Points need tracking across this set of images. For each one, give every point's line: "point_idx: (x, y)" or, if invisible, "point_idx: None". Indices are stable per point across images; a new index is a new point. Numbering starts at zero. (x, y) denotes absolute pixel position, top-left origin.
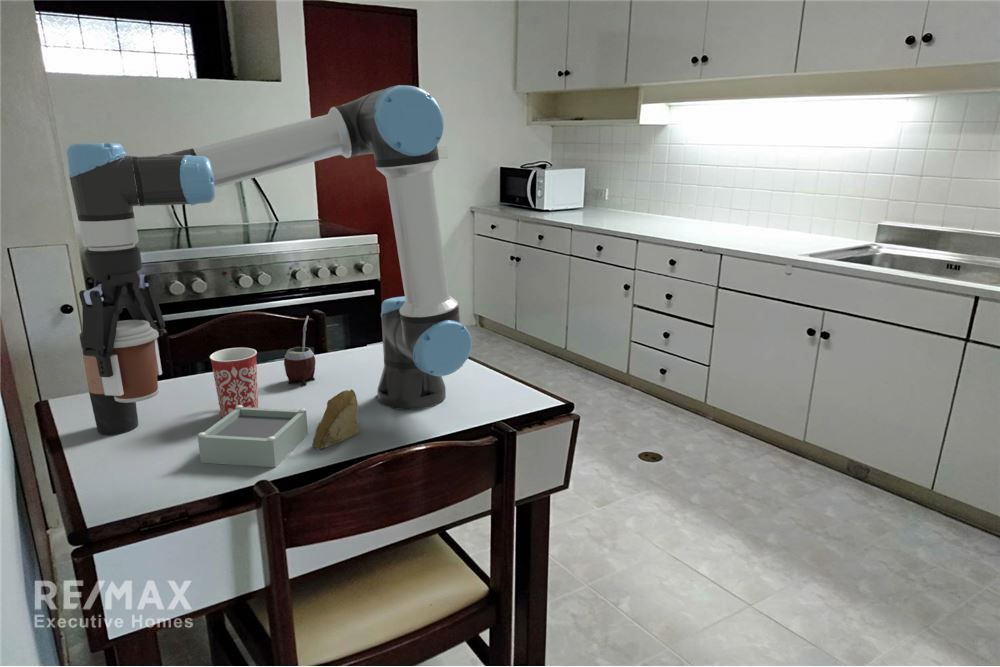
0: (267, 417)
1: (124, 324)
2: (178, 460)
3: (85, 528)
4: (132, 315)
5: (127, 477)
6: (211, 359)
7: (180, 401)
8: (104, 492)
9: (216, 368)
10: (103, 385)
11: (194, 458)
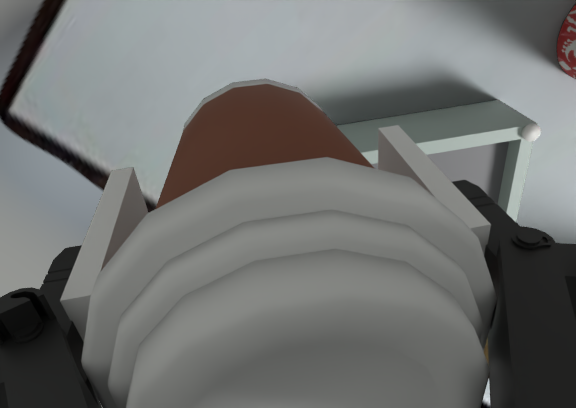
0: (494, 196)
1: (379, 369)
2: (326, 67)
3: (4, 108)
4: (511, 402)
5: (216, 8)
6: None
7: None
8: (134, 14)
9: None
10: (103, 195)
11: (343, 97)
